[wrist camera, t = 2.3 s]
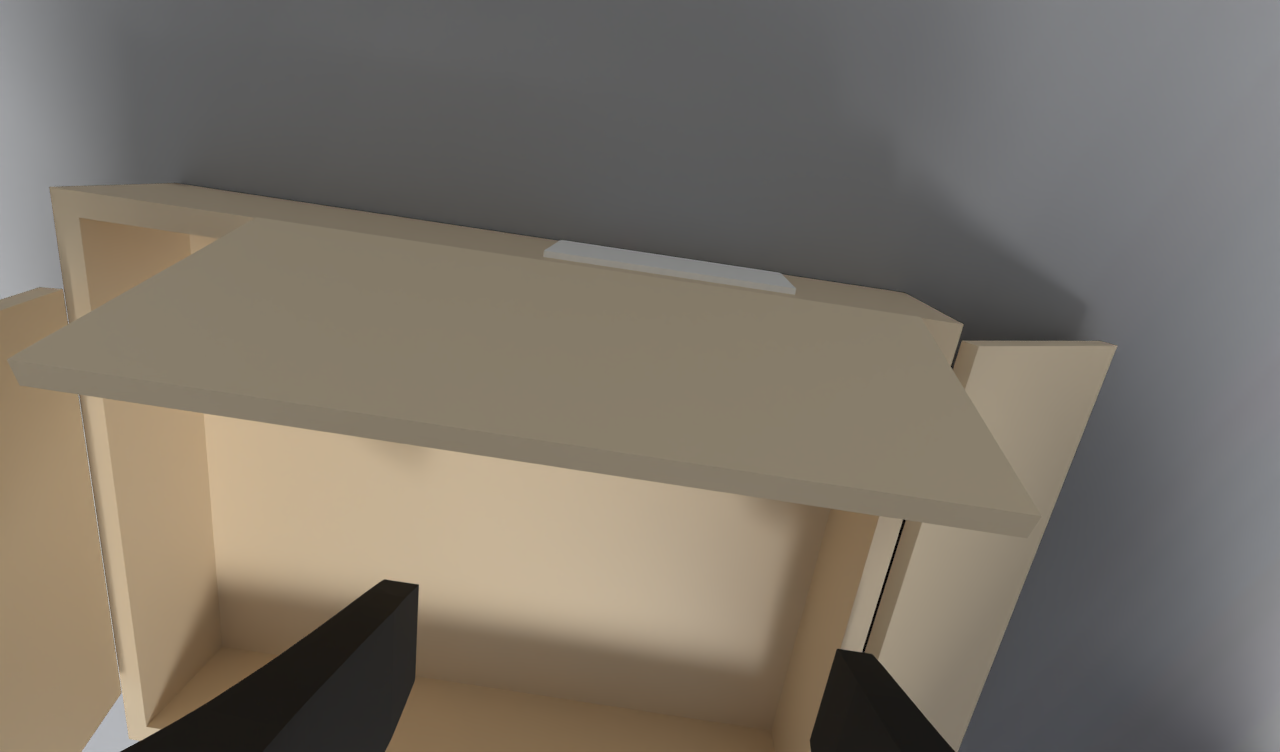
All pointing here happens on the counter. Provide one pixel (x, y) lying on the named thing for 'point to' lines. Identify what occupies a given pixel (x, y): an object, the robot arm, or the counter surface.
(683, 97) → the counter surface
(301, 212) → the carton
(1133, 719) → the counter surface
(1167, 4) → the counter surface
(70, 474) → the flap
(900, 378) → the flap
